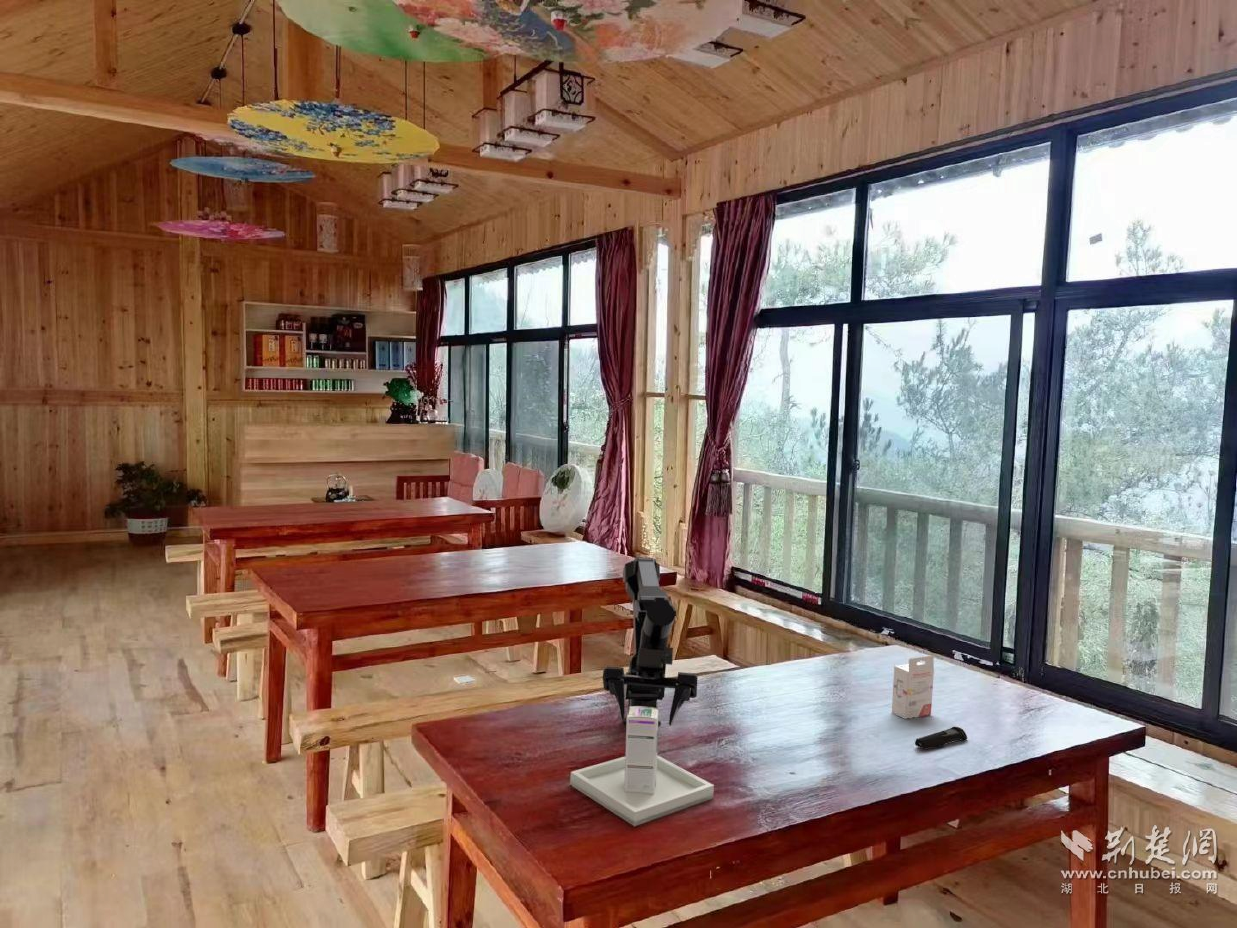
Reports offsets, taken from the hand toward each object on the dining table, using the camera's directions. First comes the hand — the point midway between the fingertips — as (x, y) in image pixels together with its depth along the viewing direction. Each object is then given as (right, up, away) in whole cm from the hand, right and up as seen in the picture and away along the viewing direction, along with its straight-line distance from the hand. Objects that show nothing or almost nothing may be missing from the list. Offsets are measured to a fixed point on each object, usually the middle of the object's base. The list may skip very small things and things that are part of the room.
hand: (646, 722), depth 169 cm
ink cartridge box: (+65, -11, +42) cm, 79 cm away
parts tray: (-1, -11, -6) cm, 13 cm away
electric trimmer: (+66, -12, +24) cm, 72 cm away
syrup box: (-1, -11, -6) cm, 12 cm away
